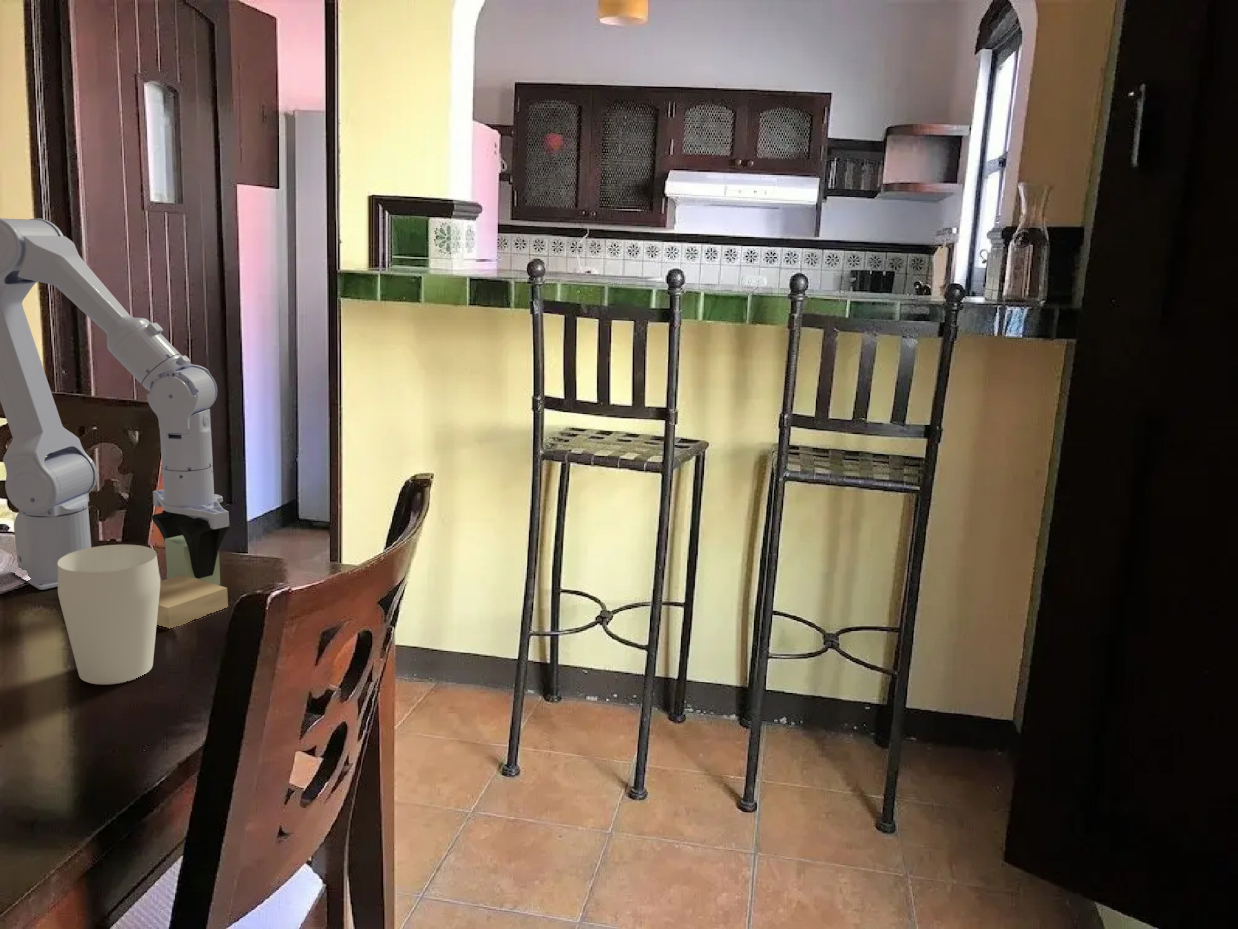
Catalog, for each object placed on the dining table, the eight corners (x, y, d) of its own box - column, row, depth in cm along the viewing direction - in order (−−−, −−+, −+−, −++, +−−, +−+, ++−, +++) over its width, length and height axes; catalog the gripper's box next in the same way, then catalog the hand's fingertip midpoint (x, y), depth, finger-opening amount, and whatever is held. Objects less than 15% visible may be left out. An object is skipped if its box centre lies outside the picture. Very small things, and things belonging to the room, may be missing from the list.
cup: (125, 696, 94) (116, 577, 91) (43, 684, 96) (32, 567, 93) (184, 659, 103) (178, 549, 100) (108, 648, 104) (100, 540, 102)
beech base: (123, 618, 113) (121, 593, 113) (182, 597, 120) (181, 574, 120) (169, 633, 110) (168, 608, 109) (228, 611, 117) (227, 587, 116)
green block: (167, 584, 123) (164, 538, 122) (201, 576, 127) (199, 531, 126) (186, 593, 121) (183, 546, 119) (220, 584, 124) (218, 539, 123)
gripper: (250, 471, 119) (254, 577, 122) (188, 451, 128) (193, 551, 131) (194, 480, 114) (200, 591, 117) (133, 459, 122) (141, 563, 125)
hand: (193, 571), depth 123 cm, fingers closed on green block, 4 cm apart
